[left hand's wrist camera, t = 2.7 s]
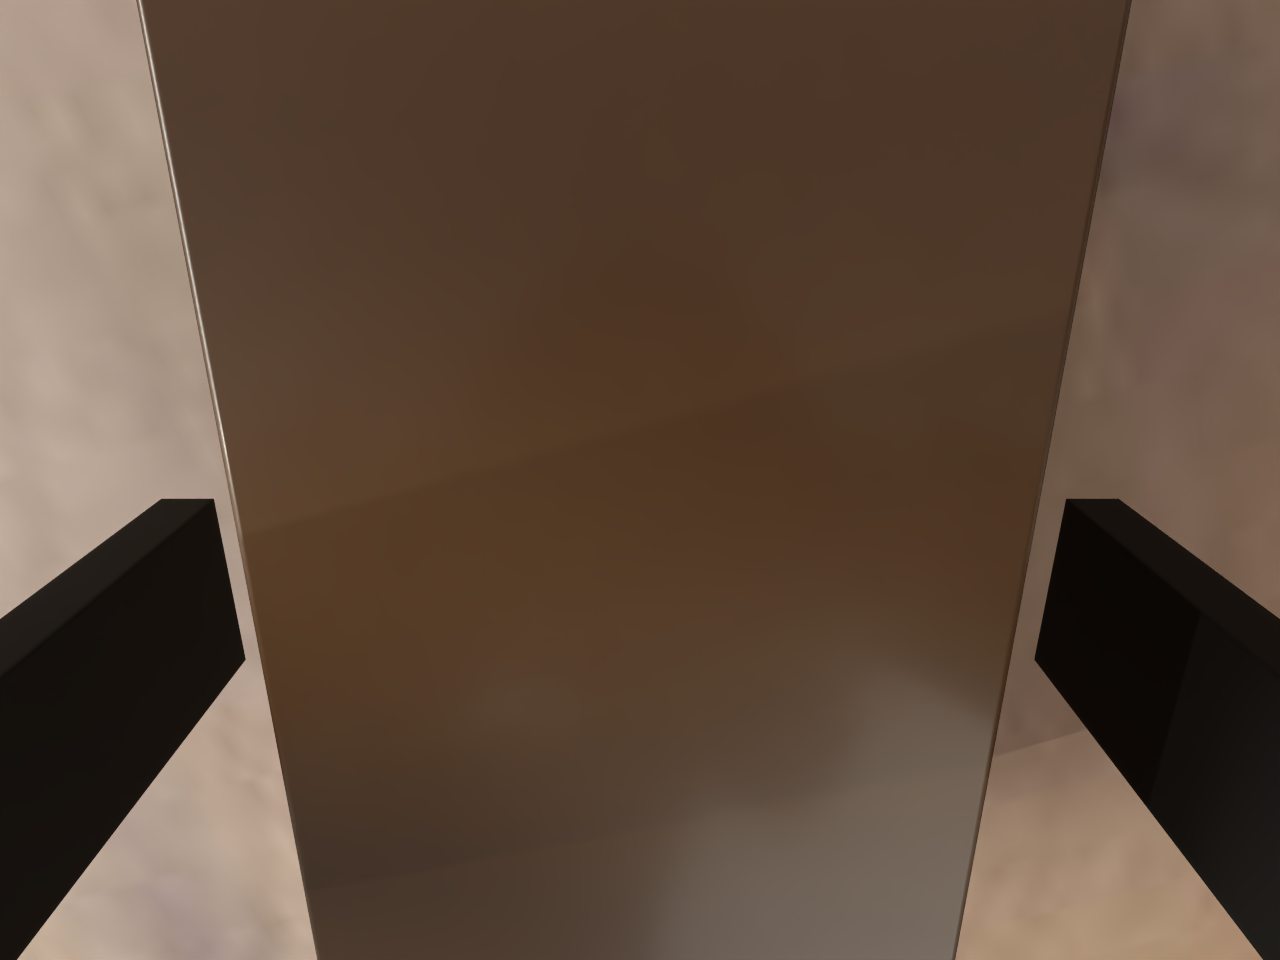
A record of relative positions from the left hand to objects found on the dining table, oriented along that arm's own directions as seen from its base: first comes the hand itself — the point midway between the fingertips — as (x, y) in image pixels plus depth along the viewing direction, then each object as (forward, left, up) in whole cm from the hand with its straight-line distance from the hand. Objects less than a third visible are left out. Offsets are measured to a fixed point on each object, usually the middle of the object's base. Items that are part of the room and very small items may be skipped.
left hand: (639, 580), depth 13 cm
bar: (+19, +4, -2) cm, 20 cm away
